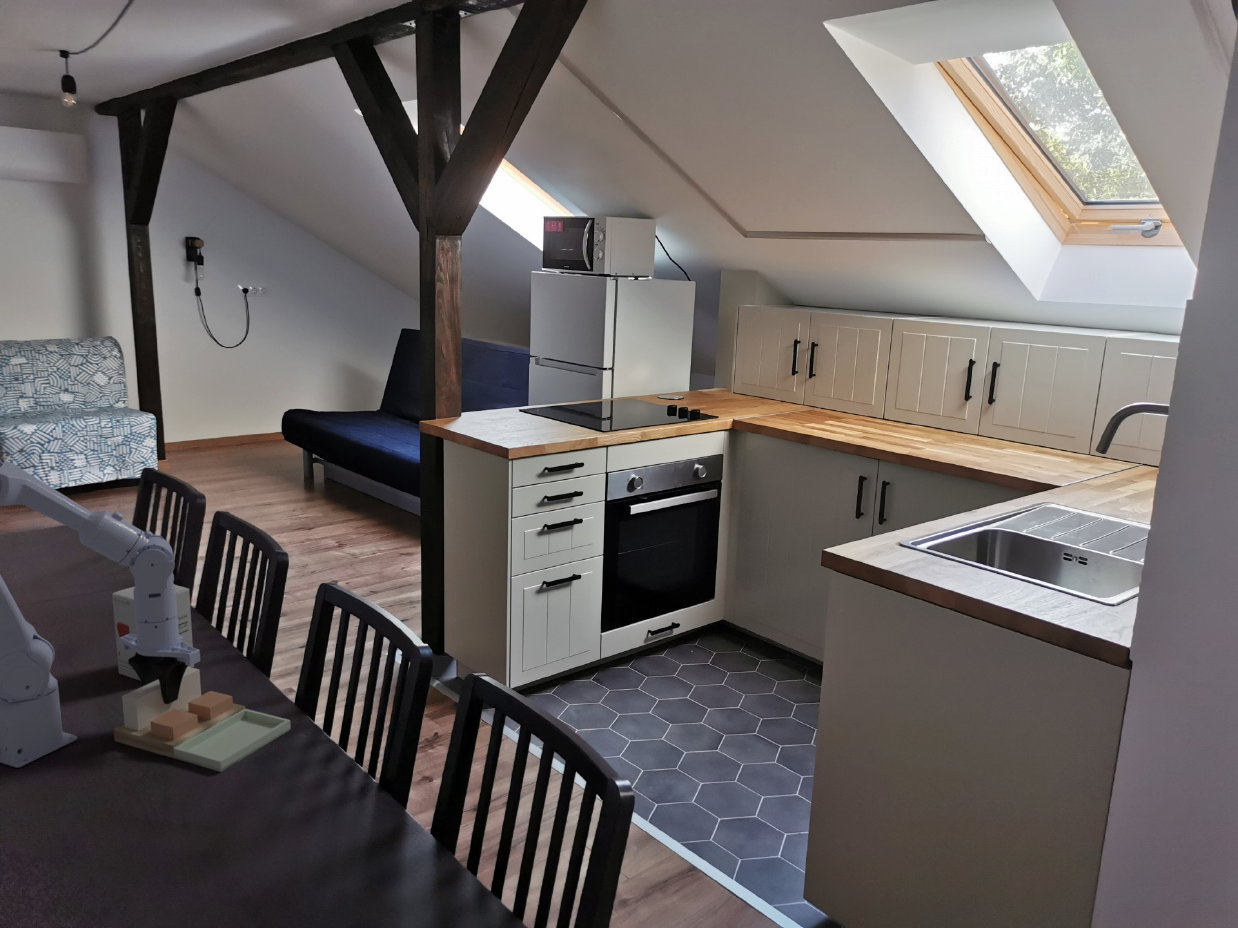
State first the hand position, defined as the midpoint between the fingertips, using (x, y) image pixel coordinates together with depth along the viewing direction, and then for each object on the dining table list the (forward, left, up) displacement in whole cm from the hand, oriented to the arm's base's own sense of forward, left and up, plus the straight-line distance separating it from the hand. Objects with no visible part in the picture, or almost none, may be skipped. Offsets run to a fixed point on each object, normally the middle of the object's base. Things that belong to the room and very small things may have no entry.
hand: (163, 699), depth 146 cm
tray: (0, -14, -4) cm, 15 cm away
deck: (0, -4, -4) cm, 6 cm away
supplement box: (+14, +17, -4) cm, 23 cm away
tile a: (-4, -6, -2) cm, 7 cm away
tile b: (+3, -6, -2) cm, 7 cm away
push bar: (0, 0, -2) cm, 2 cm away
